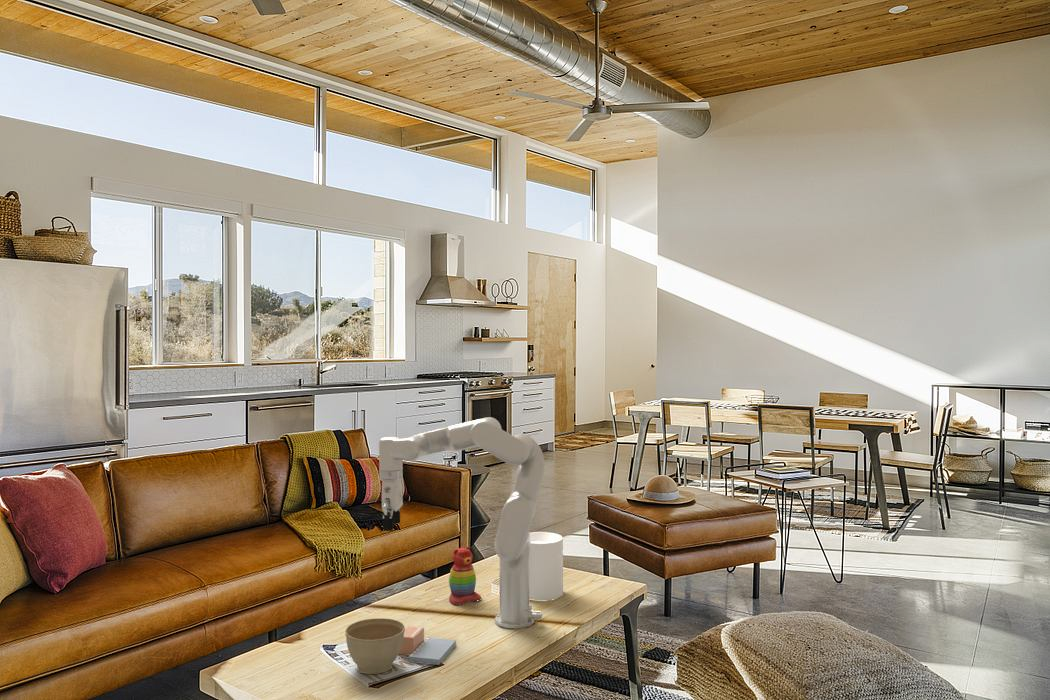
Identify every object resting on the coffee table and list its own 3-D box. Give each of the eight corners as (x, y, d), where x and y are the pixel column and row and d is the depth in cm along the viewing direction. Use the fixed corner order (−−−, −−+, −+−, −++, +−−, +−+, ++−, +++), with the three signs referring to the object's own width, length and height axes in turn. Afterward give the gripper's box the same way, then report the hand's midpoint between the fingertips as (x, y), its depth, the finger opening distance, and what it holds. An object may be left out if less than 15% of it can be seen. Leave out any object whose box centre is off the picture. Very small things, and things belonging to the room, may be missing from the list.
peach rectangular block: (424, 644, 224) (423, 627, 224) (413, 655, 216) (413, 637, 216) (408, 642, 225) (408, 625, 225) (397, 653, 217) (397, 636, 217)
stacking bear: (454, 606, 256) (454, 554, 256) (442, 597, 265) (442, 547, 265) (483, 600, 261) (483, 549, 261) (470, 592, 270) (470, 542, 270)
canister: (572, 592, 269) (572, 536, 269) (543, 604, 257) (543, 546, 257) (537, 583, 280) (537, 529, 279) (508, 594, 268) (508, 538, 267)
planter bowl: (393, 682, 199) (393, 641, 199) (335, 678, 202) (335, 637, 202) (412, 657, 215) (412, 619, 215) (359, 653, 218) (359, 616, 218)
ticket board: (456, 645, 224) (455, 639, 224) (439, 664, 210) (438, 659, 210) (427, 642, 226) (427, 637, 226) (408, 661, 212) (408, 656, 212)
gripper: (396, 479, 238) (396, 533, 239) (408, 470, 256) (408, 520, 256) (372, 479, 239) (373, 533, 239) (386, 470, 256) (387, 520, 256)
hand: (391, 526), depth 248 cm, fingers open, 9 cm apart
